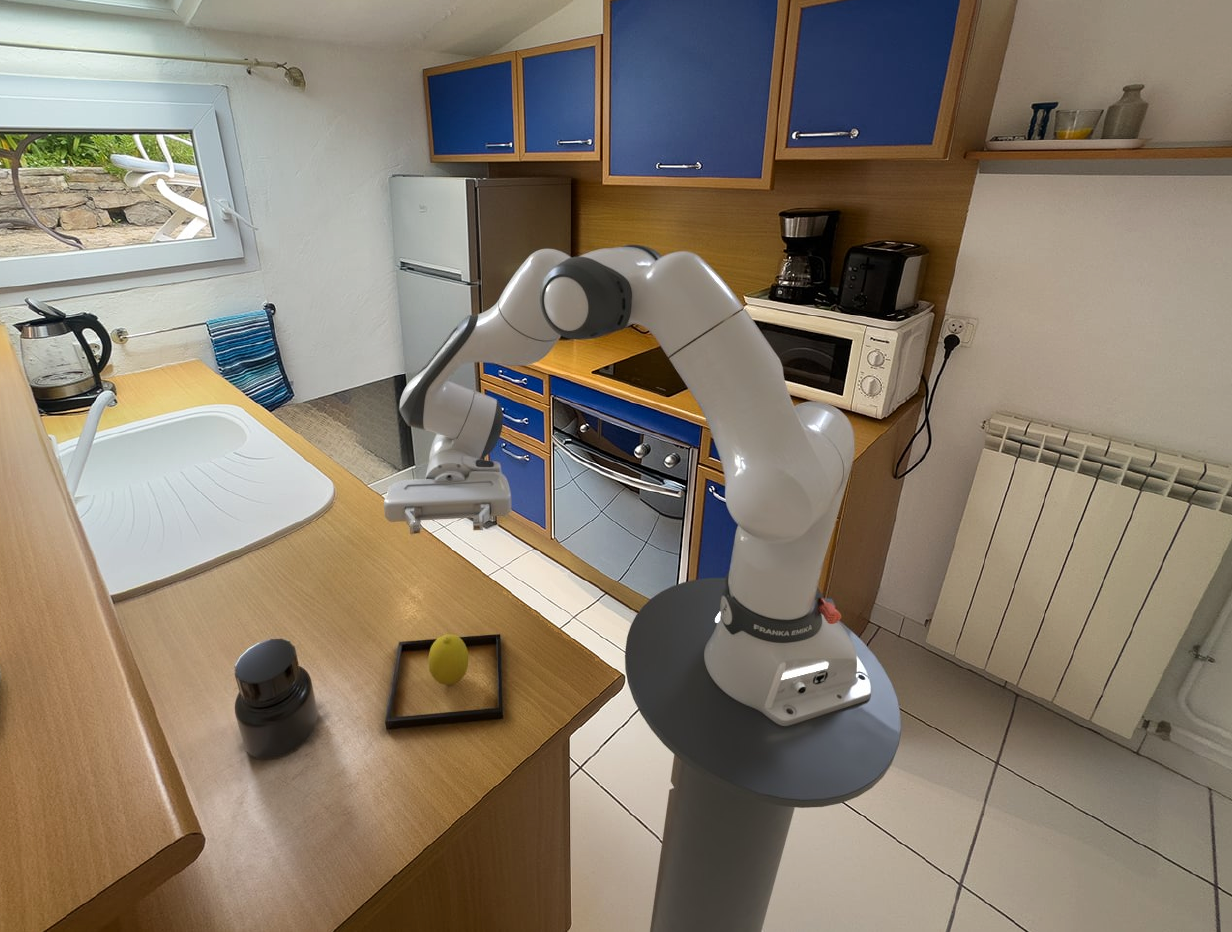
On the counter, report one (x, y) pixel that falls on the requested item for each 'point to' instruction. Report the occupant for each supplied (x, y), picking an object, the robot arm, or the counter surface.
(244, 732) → the ink bottle
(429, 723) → the black square frame
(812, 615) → the robot arm
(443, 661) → the lemon
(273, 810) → the counter surface
